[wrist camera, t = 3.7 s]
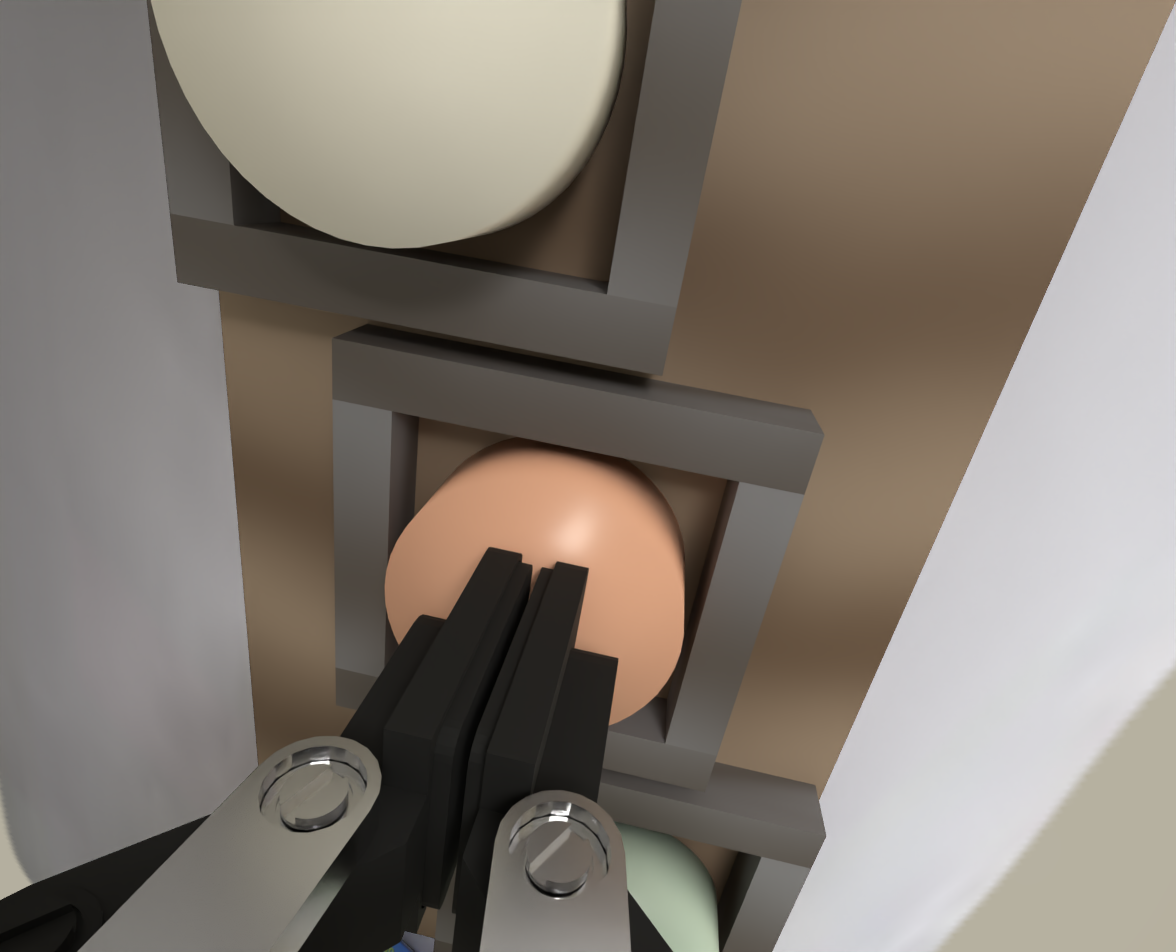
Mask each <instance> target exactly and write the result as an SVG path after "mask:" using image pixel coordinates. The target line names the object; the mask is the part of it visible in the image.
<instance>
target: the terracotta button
mask: <svg viewBox="0 0 1176 952" xmlns="http://www.w3.org/2000/svg"><path fill="white" fill-rule="evenodd" d="M488 547H494V548H499V549H503V550H508V551H513V552H517V553H522V563H527V564H531V565H533V571H532V578H531V585H530V592H529V598H530V595H531V593H532V590H533V588H534V585H535V583H536V580H537V578H538V575H539V573H540V570H541V568H542V567H545V568H550V569H554V566H555V564H556V562H557V561H559V562H564V563H568V564H573V565H578V566H582V567H587V568H589V573H588V578H587V583H586V589H585V594H584V599H583V605H582V610H581V615H580V621H579V626H578V631H577V637H576V642H575V648H576V649H580V650H585V651H589V652H594V653H598V654H603V655H607V656H612V657H616V658H618V668H617V674H616V681H615V687H614V694H613V701H612V707H611V714H610V720H609V725H612V724H615V723H617V722H619V721H621V720H623V719H625V718H627V717H629V716H631V715H632V714H634V713H635V712H637V711H638V710H640V709H641V708H642V707H644V706H645V705H646V704H647V703H649V702H650V701H651V700H652V699H653V698H654V697H655V696H656V695H657V694H658V693H659V691H660V690H661V689H662V688H663V686H664V685H665V684H666V683H667V681H668V679H669V678H670V676H671V674H672V672H673V670H674V669H675V666H676V664H677V661H678V658H679V655H680V653H681V648H682V643H683V637H684V591H685V551H684V543H683V538H682V534H681V531H680V527H679V524H678V521H677V519H676V517H675V515H674V512H673V510H672V508H671V507H670V505H669V503H668V502H667V500H666V499H665V497H664V495H663V494H662V493H661V491H660V490H659V489H658V488H657V487H656V485H655V484H654V483H653V482H652V481H651V480H650V479H649V478H648V477H647V476H646V475H645V474H644V473H643V472H642V471H641V470H640V469H639V468H637V467H636V466H634V465H633V464H632V463H630V462H629V461H627V460H626V459H625V458H620V457H615V456H610V455H605V454H600V453H595V452H590V451H585V450H580V449H575V448H571V447H566V446H561V445H556V444H551V443H546V442H541V441H536V440H531V439H526V438H521V437H515V438H511V439H507V440H503V441H500V442H497V443H495V444H492V445H490V446H487V447H485V448H484V449H482V450H480V451H478V452H477V453H475V454H473V455H472V456H470V457H469V458H468V459H467V460H465V461H464V462H463V463H462V464H460V465H459V466H458V467H457V468H456V469H455V471H454V472H453V473H452V474H451V475H450V476H449V477H448V478H447V479H446V481H445V482H444V483H443V484H442V485H441V486H440V488H439V489H438V490H437V491H436V492H435V493H434V495H433V496H432V497H431V498H430V499H429V501H428V502H427V503H426V504H425V505H424V506H423V508H422V509H421V510H420V511H419V512H418V513H417V515H416V516H415V517H414V518H413V519H412V521H411V522H410V523H409V524H408V525H407V526H406V528H405V529H404V531H403V532H402V534H401V535H400V537H399V538H398V540H397V542H396V544H395V546H394V549H393V551H392V553H391V555H390V559H389V563H388V566H387V570H386V578H385V604H386V609H387V614H388V619H389V622H390V625H391V628H392V631H393V634H394V636H395V638H396V640H397V642H398V644H400V643H401V641H402V640H403V638H404V637H405V635H406V634H407V632H408V631H409V629H410V628H411V626H412V624H413V623H414V622H415V620H416V619H417V618H418V617H419V616H420V615H422V614H424V615H429V616H433V617H438V618H442V619H447V618H448V616H449V614H450V613H451V611H452V609H453V607H454V606H455V604H456V602H457V600H458V599H459V597H460V595H461V593H462V592H463V590H464V588H465V586H466V585H467V583H468V581H469V580H470V578H471V576H472V574H473V573H474V571H475V569H476V567H477V566H478V564H479V562H480V560H481V559H482V557H483V555H484V554H485V552H486V550H487V549H488ZM528 600H529V599H528Z"/></svg>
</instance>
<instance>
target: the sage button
mask: <svg viewBox="0 0 1176 952" xmlns="http://www.w3.org/2000/svg"><path fill="white" fill-rule="evenodd" d="M614 823H615V825H616V826H617V828H618V830H619V832H620V833H621V836H622V841H623V845H624V850H625V858H626V875H627V889H628V891H629V892H630V894H631V895H632V896H633V898H634V899H635V900H636V902H637V903H638V904H639V906H640V907H641V909H642V910H643V911H644V913H645V914H646V915H647V917H648V918H649V919H650V921H651V922H652V924H653V925H654V926H655V928H656V929H657V930H658V932H659V933H660V934H661V936H662V937H663V939H664V940H665V941H666V943H667V944H668V945H669V947H670V948H671V949H672V951H673V952H719V937H718V912H717V895H716V888H715V885H714V882H713V879H712V877H711V875H710V873H709V871H708V870H707V868H706V867H705V865H704V864H703V863H702V861H701V860H700V859H699V858H698V857H697V856H696V855H695V854H694V853H693V852H692V851H691V850H690V849H689V848H688V847H687V846H685V845H684V844H683V843H682V842H680V841H679V840H677V839H676V838H674V837H673V836H671V835H669V834H665V833H661V832H657V831H653V830H648V829H644V828H640V827H636V826H632V825H628V824H624V823H619V822H615V821H614Z"/></svg>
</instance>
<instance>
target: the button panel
mask: <svg viewBox="0 0 1176 952" xmlns="http://www.w3.org/2000/svg"><path fill="white" fill-rule="evenodd" d="M1175 1H1176V0H626V2H627V42H626V52H625V63H624V69H623V74H622V78H621V83H620V88H619V93H618V96H617V99H616V102H615V105H614V108H613V111H612V114H611V117H610V120H609V123H608V125H607V127H606V129H605V131H604V133H603V136H602V138H601V140H600V142H599V144H598V146H597V148H596V149H595V151H594V152H593V154H592V156H591V157H590V159H589V160H588V162H587V164H586V165H585V167H584V168H583V169H582V171H581V172H580V173H579V174H578V176H577V177H576V178H575V179H574V180H573V182H572V183H571V184H570V185H569V187H568V188H566V189H565V190H564V191H563V192H562V193H561V194H560V195H559V196H558V197H557V198H556V199H555V200H554V201H553V202H552V203H550V204H549V205H547V206H546V207H545V208H543V209H542V210H540V211H539V212H538V213H536V214H535V215H533V216H532V217H530V218H528V219H526V220H524V221H522V222H520V223H518V224H516V225H514V226H512V227H509V228H506V229H503V230H500V231H497V232H494V233H491V234H486V235H481V236H476V237H471V238H466V239H461V240H456V241H451V242H446V243H441V244H435V245H430V246H424V247H419V248H384V247H375V246H366V245H362V244H358V243H355V242H351V241H347V240H343V239H339V238H337V237H334V236H332V235H330V234H327V233H325V232H322V231H320V230H317V229H315V228H313V227H311V226H309V225H307V224H306V223H304V222H302V221H300V220H298V219H297V218H295V217H293V216H291V215H290V214H288V213H287V212H285V211H284V210H283V209H281V208H280V207H279V206H277V205H276V204H274V203H273V202H272V201H270V200H269V199H267V198H266V197H265V196H264V195H263V194H262V193H261V192H259V191H258V190H257V189H256V188H255V187H254V186H253V185H252V184H251V183H250V182H248V181H247V180H246V179H245V178H244V177H243V176H242V175H241V174H240V173H239V171H238V170H237V169H236V168H235V167H234V166H233V165H232V164H231V162H230V161H229V160H228V159H227V158H226V157H225V156H224V155H223V154H222V152H221V151H220V149H219V148H218V147H217V145H216V144H215V143H214V141H213V140H212V138H211V137H210V136H209V134H208V133H207V132H206V130H205V129H204V127H203V126H202V124H201V123H200V121H199V119H198V117H197V116H196V114H195V112H194V111H193V109H192V107H191V105H190V104H189V102H188V100H187V99H186V97H185V95H184V93H183V90H182V88H181V86H180V84H179V82H178V80H177V78H176V75H175V73H174V71H173V69H172V67H171V65H170V62H169V59H168V56H167V53H166V51H165V48H164V45H163V42H162V39H161V37H160V34H159V31H158V27H157V23H156V19H155V15H154V11H153V8H152V4H151V0H147V7H148V16H149V25H150V34H151V43H152V53H153V62H154V71H155V80H156V89H157V98H158V108H159V117H160V126H161V135H162V144H163V153H164V163H165V172H166V181H167V190H168V199H169V208H170V218H171V227H172V236H173V245H174V254H175V264H176V273H177V282H178V283H183V284H188V285H194V286H199V287H204V288H209V289H214V290H219V300H220V312H221V324H222V336H223V348H224V360H225V372H226V384H227V396H228V408H229V420H230V432H231V444H232V456H233V468H234V480H235V492H236V504H237V516H238V528H239V540H240V552H241V564H242V576H243V588H244V600H245V612H246V624H247V636H248V648H249V660H250V672H251V684H252V696H253V708H254V720H255V732H256V744H257V756H258V766H259V765H260V764H261V763H263V762H264V761H265V760H266V759H268V758H269V757H270V756H271V755H272V754H274V753H275V752H276V751H278V750H280V749H282V748H284V747H286V746H288V745H290V744H292V743H294V742H296V741H300V740H304V739H308V738H312V737H316V736H338V737H340V735H341V734H342V732H343V731H344V729H345V728H346V726H347V725H348V723H349V721H350V720H351V718H352V717H353V715H354V714H355V712H356V711H357V709H358V708H359V706H360V705H361V703H362V701H363V700H364V698H365V697H366V695H367V694H368V692H369V691H370V689H371V688H372V686H373V685H374V683H375V681H376V680H377V678H378V677H379V675H380V674H381V672H382V671H383V669H384V668H385V666H386V665H387V663H388V661H389V660H390V658H391V657H392V655H393V654H394V652H395V651H396V649H397V648H398V646H399V644H398V642H397V640H396V638H395V636H394V634H393V631H392V628H391V625H390V622H389V619H388V614H387V609H386V604H385V578H386V570H387V566H388V563H389V559H390V555H391V553H392V551H393V549H394V546H395V544H396V542H397V540H398V538H399V537H400V535H401V534H402V532H403V531H404V529H405V528H406V526H407V525H408V524H409V523H410V522H411V521H412V519H413V518H414V517H415V516H416V515H417V513H418V512H419V511H420V510H421V509H422V508H423V506H424V505H425V504H426V503H427V502H428V501H429V499H430V498H431V497H432V496H433V495H434V493H435V492H436V491H437V490H438V489H439V488H440V486H441V485H442V484H443V483H444V482H445V481H446V479H447V478H448V477H449V476H450V475H451V474H452V473H453V472H454V471H455V469H456V468H457V467H458V466H459V465H460V464H462V463H463V462H464V461H465V460H467V459H468V458H469V457H470V456H472V455H473V454H475V453H477V452H478V451H480V450H482V449H484V448H485V447H487V446H490V445H492V444H495V443H497V442H500V441H503V440H507V439H511V438H515V437H521V438H526V439H531V440H536V441H541V442H546V443H551V444H556V445H561V446H566V447H571V448H575V449H580V450H585V451H590V452H595V453H600V454H605V455H610V456H615V457H620V458H625V459H626V460H627V461H629V462H630V463H632V464H633V465H634V466H636V467H637V468H639V469H640V470H641V471H642V472H643V473H644V474H645V475H646V476H647V477H648V478H649V479H650V480H651V481H652V482H653V483H654V484H655V485H656V487H657V488H658V489H659V490H660V491H661V493H662V494H663V495H664V497H665V499H666V500H667V502H668V503H669V505H670V507H671V508H672V510H673V512H674V515H675V517H676V519H677V521H678V524H679V527H680V531H681V534H682V538H683V543H684V551H685V591H684V637H683V643H682V648H681V653H680V655H679V658H678V661H677V664H676V666H675V669H674V670H673V672H672V674H671V676H670V678H669V679H668V681H667V683H666V684H665V685H664V686H663V688H662V689H661V690H660V691H659V693H658V694H657V695H656V696H655V697H654V698H653V699H652V700H651V701H650V702H649V703H647V704H646V705H645V706H644V707H642V708H641V709H640V710H638V711H637V712H635V713H634V714H632V715H631V716H629V717H627V718H625V719H623V720H621V721H619V722H617V723H615V724H612V725H609V727H608V733H607V740H606V747H605V753H604V760H603V766H602V773H601V780H600V786H599V793H598V799H597V804H598V805H599V806H600V807H601V808H602V809H603V810H604V811H605V812H606V813H607V814H608V815H610V816H611V817H612V819H613V821H615V822H619V823H624V824H628V825H632V826H636V827H640V828H644V829H648V830H653V831H657V832H661V833H665V834H669V835H671V836H673V837H674V838H676V839H677V840H679V841H680V842H682V843H683V844H684V845H685V846H687V847H688V848H689V849H690V850H691V851H692V852H693V853H694V854H695V855H696V856H697V857H698V858H699V859H700V860H701V861H702V863H703V864H704V865H705V867H706V868H707V870H708V871H709V873H710V875H711V877H712V879H713V882H714V885H715V888H716V895H717V912H718V937H719V952H772V951H773V948H774V946H775V944H776V942H777V940H778V938H779V936H780V934H781V931H782V929H783V927H784V925H785V923H786V921H787V919H788V916H789V914H790V912H791V910H792V908H793V906H794V904H795V902H796V899H797V897H798V895H799V893H800V891H801V889H802V887H803V885H804V882H805V880H806V878H807V876H808V874H809V872H810V870H811V867H812V865H813V863H814V861H815V859H816V857H817V855H818V853H819V850H820V848H821V846H822V844H823V842H824V840H825V838H826V832H825V828H824V823H823V818H822V814H821V809H820V804H819V799H820V797H821V795H822V792H823V790H824V788H825V786H826V783H827V781H828V779H829V777H830V774H831V772H832V770H833V768H834V765H835V763H836V761H837V759H838V756H839V754H840V752H841V750H842V748H843V745H844V743H845V741H846V739H847V736H848V734H849V732H850V730H851V727H852V725H853V723H854V721H855V718H856V716H857V714H858V712H859V709H860V707H861V705H862V703H863V700H864V698H865V696H866V694H867V692H868V689H869V687H870V685H871V683H872V680H873V678H874V676H875V674H876V671H877V669H878V667H879V665H880V662H881V660H882V658H883V656H884V653H885V651H886V649H887V647H888V644H889V642H890V640H891V638H892V635H893V633H894V631H895V629H896V627H897V624H898V622H899V620H900V618H901V615H902V613H903V611H904V609H905V606H906V604H907V602H908V600H909V597H910V595H911V593H912V591H913V588H914V586H915V584H916V582H917V579H918V577H919V575H920V573H921V571H922V568H923V566H924V564H925V562H926V559H927V557H928V555H929V553H930V550H931V548H932V546H933V544H934V541H935V539H936V537H937V535H938V532H939V530H940V528H941V526H942V523H943V521H944V519H945V517H946V515H947V512H948V510H949V508H950V506H951V503H952V501H953V499H954V497H955V494H956V492H957V490H958V488H959V485H960V483H961V481H962V479H963V476H964V474H965V472H966V470H967V467H968V465H969V463H970V461H971V459H972V456H973V454H974V452H975V450H976V447H977V445H978V443H979V441H980V438H981V436H982V434H983V432H984V429H985V427H986V425H987V423H988V420H989V418H990V416H991V414H992V411H993V409H994V407H995V405H996V402H997V400H998V398H999V396H1000V394H1001V391H1002V389H1003V387H1004V385H1005V382H1006V380H1007V378H1008V376H1009V373H1010V371H1011V369H1012V367H1013V364H1014V362H1015V360H1016V358H1017V355H1018V353H1019V351H1020V349H1021V346H1022V344H1023V342H1024V340H1025V338H1026V335H1027V333H1028V331H1029V329H1030V326H1031V324H1032V322H1033V320H1034V317H1035V315H1036V313H1037V311H1038V308H1039V306H1040V304H1041V302H1042V299H1043V297H1044V295H1045V293H1046V290H1047V288H1048V286H1049V284H1050V282H1051V279H1052V277H1053V275H1054V273H1055V270H1056V268H1057V266H1058V264H1059V261H1060V259H1061V257H1062V255H1063V252H1064V250H1065V248H1066V246H1067V243H1068V241H1069V239H1070V237H1071V234H1072V232H1073V230H1074V228H1075V226H1076V223H1077V221H1078V219H1079V217H1080V214H1081V212H1082V210H1083V208H1084V205H1085V203H1086V201H1087V199H1088V196H1089V194H1090V192H1091V190H1092V187H1093V185H1094V183H1095V181H1096V178H1097V176H1098V174H1099V172H1100V169H1101V167H1102V165H1103V163H1104V161H1105V158H1106V156H1107V154H1108V152H1109V149H1110V147H1111V145H1112V143H1113V140H1114V138H1115V136H1116V134H1117V131H1118V129H1119V127H1120V125H1121V122H1122V120H1123V118H1124V116H1125V113H1126V111H1127V109H1128V107H1129V105H1130V102H1131V100H1132V98H1133V96H1134V93H1135V91H1136V89H1137V87H1138V84H1139V82H1140V80H1141V78H1142V75H1143V73H1144V71H1145V69H1146V66H1147V64H1148V62H1149V60H1150V57H1151V55H1152V53H1153V51H1154V49H1155V46H1156V44H1157V42H1158V40H1159V37H1160V35H1161V33H1162V31H1163V28H1164V26H1165V24H1166V22H1167V19H1168V17H1169V15H1170V13H1171V10H1172V8H1173V6H1174V4H1175ZM456 867H457V865H456ZM455 876H456V868H455V871H454V874H453V877H452V879H451V882H450V885H449V888H448V891H447V894H446V897H445V899H444V902H443V904H442V906H441V908H440V910H438V909H434V908H430V907H426V910H425V913H424V915H423V918H422V921H421V924H420V926H419V929H418V932H417V934H420V935H424V936H427V937H431V938H435V942H434V952H452V944H453V935H454V926H455V918H456V914H453V913H452V903H453V894H454V885H455Z"/></svg>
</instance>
